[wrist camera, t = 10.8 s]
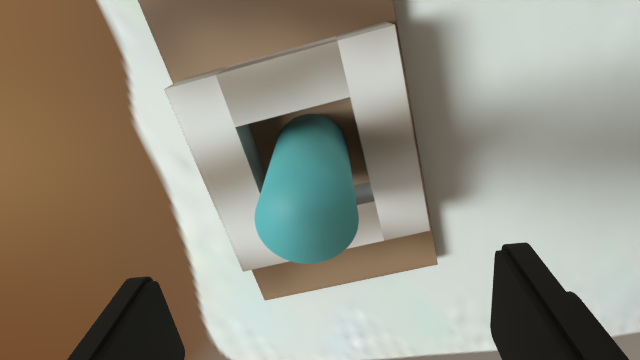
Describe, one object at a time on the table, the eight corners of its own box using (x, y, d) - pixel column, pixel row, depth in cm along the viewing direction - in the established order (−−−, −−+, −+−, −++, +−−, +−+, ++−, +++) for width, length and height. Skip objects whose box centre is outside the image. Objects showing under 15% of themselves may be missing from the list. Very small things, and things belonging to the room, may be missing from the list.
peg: (360, 153, 22) (379, 229, 15) (306, 191, 23) (299, 279, 16) (317, 98, 21) (315, 153, 14) (262, 141, 22) (232, 213, 15)
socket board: (433, 255, 26) (448, 290, 23) (266, 290, 28) (259, 328, 25) (375, -82, 18) (386, -99, 15) (142, -10, 20) (107, -11, 16)
